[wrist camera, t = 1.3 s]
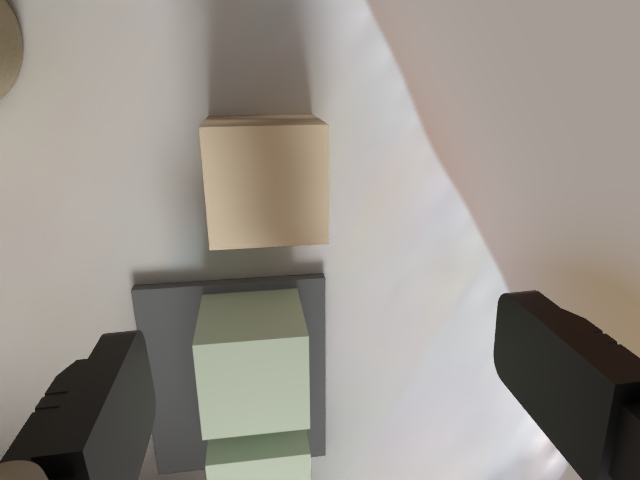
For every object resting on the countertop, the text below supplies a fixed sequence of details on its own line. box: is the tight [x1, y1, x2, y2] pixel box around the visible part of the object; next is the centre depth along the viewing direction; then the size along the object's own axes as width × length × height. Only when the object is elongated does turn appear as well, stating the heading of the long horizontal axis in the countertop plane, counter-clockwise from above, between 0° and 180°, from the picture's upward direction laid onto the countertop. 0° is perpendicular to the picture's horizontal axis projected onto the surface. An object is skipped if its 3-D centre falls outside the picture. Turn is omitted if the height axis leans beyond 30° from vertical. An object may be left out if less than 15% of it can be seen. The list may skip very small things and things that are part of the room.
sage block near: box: [192, 288, 310, 440], centre depth 24 cm, size 5×5×5 cm
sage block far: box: [205, 429, 311, 480], centre depth 26 cm, size 5×5×5 cm
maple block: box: [199, 114, 329, 250], centre depth 22 cm, size 5×5×5 cm
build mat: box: [131, 274, 325, 474], centre depth 27 cm, size 10×12×1 cm
